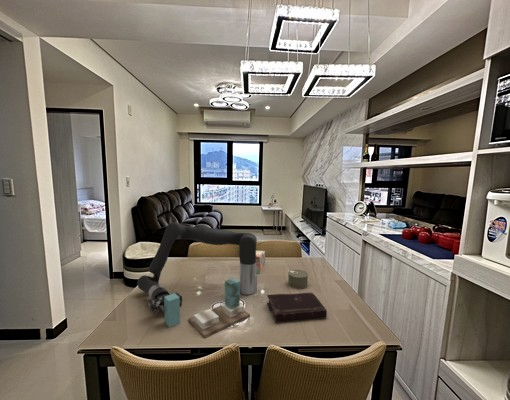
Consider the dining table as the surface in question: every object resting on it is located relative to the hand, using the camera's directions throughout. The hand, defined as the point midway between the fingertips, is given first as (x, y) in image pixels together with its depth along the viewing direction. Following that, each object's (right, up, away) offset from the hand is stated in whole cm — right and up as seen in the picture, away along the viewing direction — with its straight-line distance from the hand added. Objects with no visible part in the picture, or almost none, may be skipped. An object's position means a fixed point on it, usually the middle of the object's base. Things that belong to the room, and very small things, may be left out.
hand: (171, 308), depth 111 cm
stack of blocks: (+40, 0, +66) cm, 77 cm away
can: (+64, -3, +41) cm, 76 cm away
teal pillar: (0, -7, 0) cm, 7 cm away
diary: (+57, -7, +12) cm, 59 cm away
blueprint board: (+21, -7, +4) cm, 22 cm away
